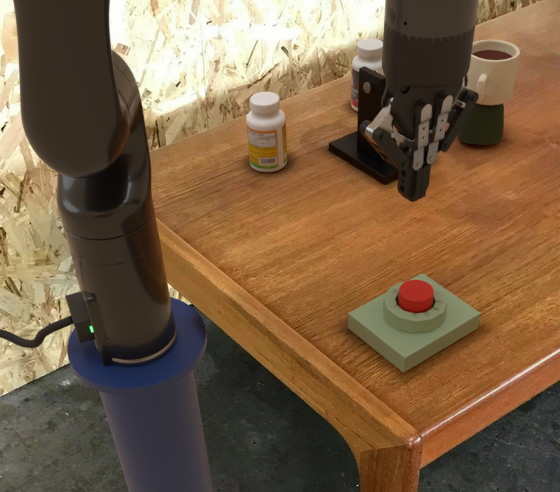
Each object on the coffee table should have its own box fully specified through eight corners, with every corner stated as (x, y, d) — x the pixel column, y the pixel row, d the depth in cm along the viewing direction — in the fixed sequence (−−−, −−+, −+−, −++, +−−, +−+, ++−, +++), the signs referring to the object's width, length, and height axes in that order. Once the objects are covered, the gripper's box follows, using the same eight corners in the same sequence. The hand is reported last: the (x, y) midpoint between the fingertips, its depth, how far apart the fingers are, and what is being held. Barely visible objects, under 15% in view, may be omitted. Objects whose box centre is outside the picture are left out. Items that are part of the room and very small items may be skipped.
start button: (414, 318, 82) (415, 306, 81) (391, 301, 85) (391, 288, 83) (439, 304, 84) (441, 291, 83) (415, 287, 86) (417, 275, 85)
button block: (403, 373, 82) (406, 345, 79) (347, 327, 87) (348, 300, 84) (478, 328, 86) (483, 300, 83) (420, 287, 92) (423, 259, 89)
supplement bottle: (269, 149, 115) (266, 84, 108) (295, 162, 112) (293, 97, 105) (241, 163, 112) (236, 98, 106) (267, 177, 110) (263, 111, 103)
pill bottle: (344, 102, 124) (346, 40, 117) (375, 95, 125) (378, 33, 118) (360, 117, 120) (362, 54, 113) (391, 110, 122) (395, 46, 115)
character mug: (465, 117, 119) (476, 30, 110) (512, 125, 117) (528, 37, 108) (444, 153, 112) (455, 62, 103) (494, 162, 110) (510, 70, 101)
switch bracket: (432, 162, 111) (442, 73, 102) (384, 184, 107) (389, 94, 98) (375, 129, 118) (379, 43, 109) (328, 150, 114) (328, 62, 105)
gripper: (400, 52, 61) (386, 238, 73) (519, 8, 66) (488, 189, 78) (339, 22, 65) (335, 203, 77) (455, -17, 70) (434, 158, 83)
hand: (412, 196), depth 78 cm, fingers closed
